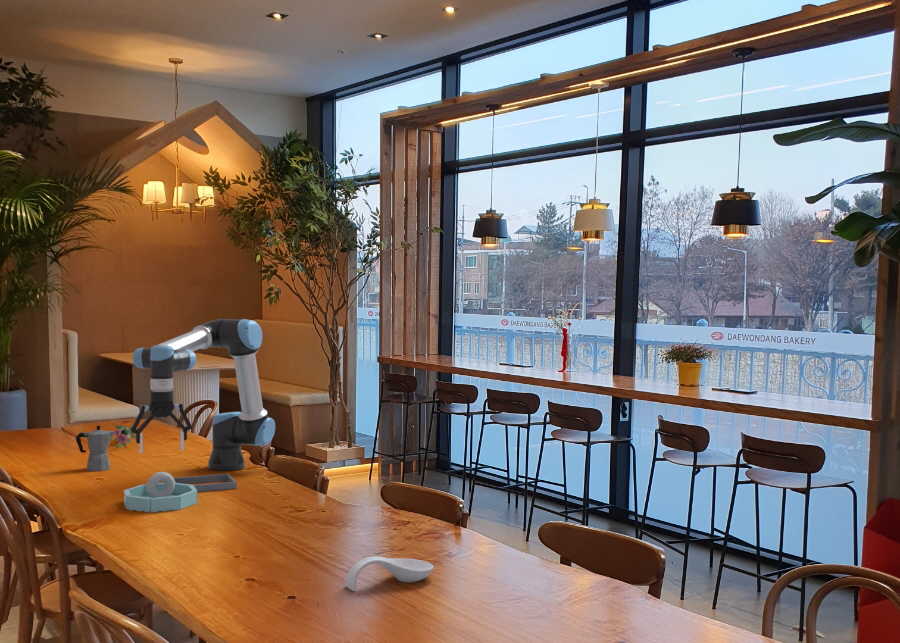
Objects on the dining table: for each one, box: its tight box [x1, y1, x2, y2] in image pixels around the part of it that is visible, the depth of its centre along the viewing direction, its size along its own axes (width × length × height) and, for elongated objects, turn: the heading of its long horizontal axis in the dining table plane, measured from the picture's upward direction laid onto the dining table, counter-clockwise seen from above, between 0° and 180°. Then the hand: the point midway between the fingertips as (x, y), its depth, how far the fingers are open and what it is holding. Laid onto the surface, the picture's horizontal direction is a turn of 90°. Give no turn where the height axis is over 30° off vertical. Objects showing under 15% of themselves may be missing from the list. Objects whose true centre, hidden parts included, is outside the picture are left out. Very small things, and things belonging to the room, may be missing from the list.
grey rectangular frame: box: [173, 473, 238, 493], centre depth 314 cm, size 22×16×2 cm
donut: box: [145, 471, 175, 498], centre depth 288 cm, size 10×3×10 cm, turn 131°
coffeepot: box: [75, 425, 116, 472], centre depth 340 cm, size 15×9×18 cm, turn 129°
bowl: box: [123, 482, 198, 513], centre depth 288 cm, size 23×23×4 cm
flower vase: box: [109, 423, 136, 449], centre depth 394 cm, size 12×12×35 cm
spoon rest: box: [344, 556, 435, 592], centre depth 214 cm, size 24×12×7 cm, turn 123°
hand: (161, 451), depth 288 cm, fingers open, 13 cm apart
